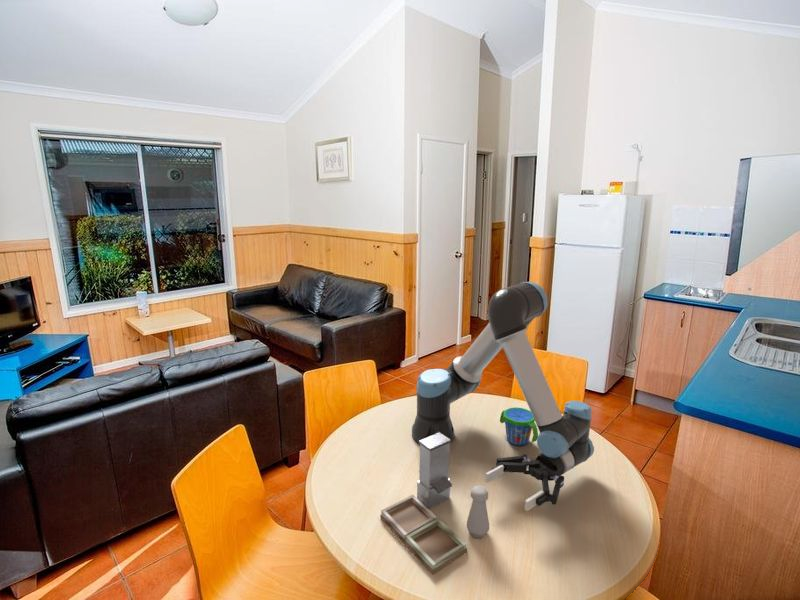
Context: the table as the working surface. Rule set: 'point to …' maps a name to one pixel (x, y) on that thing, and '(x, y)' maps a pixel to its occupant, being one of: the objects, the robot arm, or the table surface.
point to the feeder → (434, 470)
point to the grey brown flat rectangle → (423, 533)
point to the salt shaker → (478, 513)
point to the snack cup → (519, 425)
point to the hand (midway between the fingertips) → (505, 491)
